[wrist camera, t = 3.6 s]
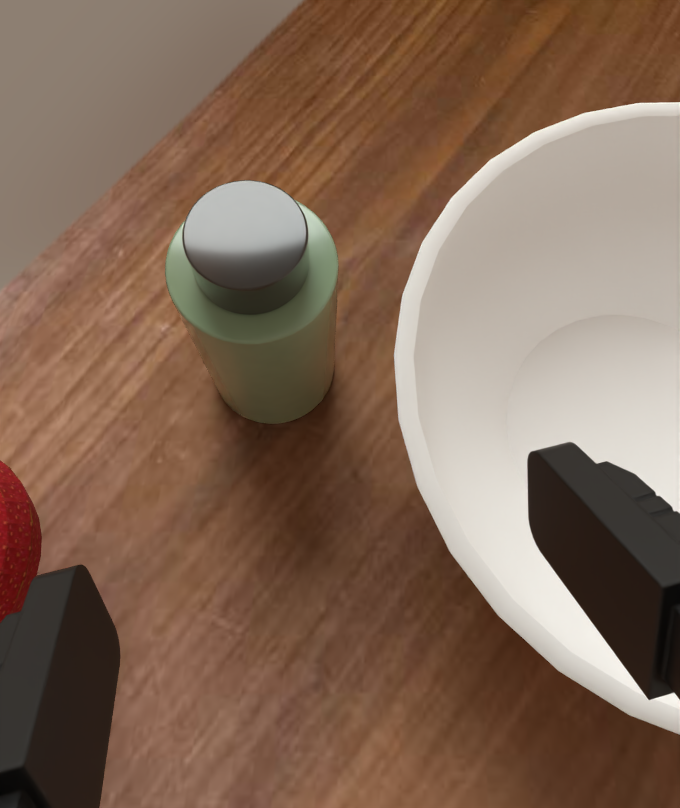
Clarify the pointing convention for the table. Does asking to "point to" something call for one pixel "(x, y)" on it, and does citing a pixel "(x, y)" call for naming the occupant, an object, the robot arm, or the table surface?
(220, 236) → the pepper shaker
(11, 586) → the strawberry
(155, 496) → the table surface
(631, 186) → the bowl
